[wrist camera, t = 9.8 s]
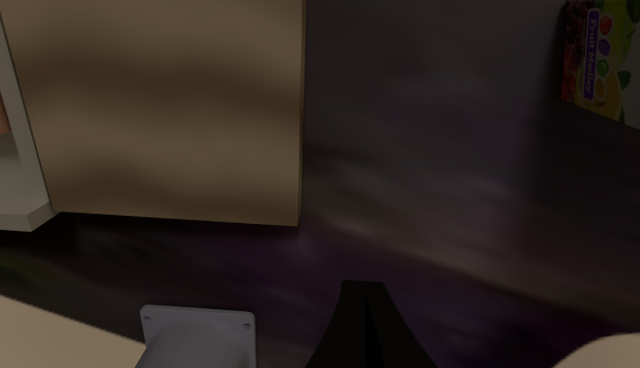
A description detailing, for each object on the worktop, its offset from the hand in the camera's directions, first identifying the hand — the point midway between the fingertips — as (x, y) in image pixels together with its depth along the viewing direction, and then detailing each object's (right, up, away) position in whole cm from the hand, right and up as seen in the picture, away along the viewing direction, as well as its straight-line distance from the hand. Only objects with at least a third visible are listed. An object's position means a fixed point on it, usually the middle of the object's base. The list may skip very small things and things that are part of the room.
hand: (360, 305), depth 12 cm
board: (-9, +9, +8) cm, 15 cm away
